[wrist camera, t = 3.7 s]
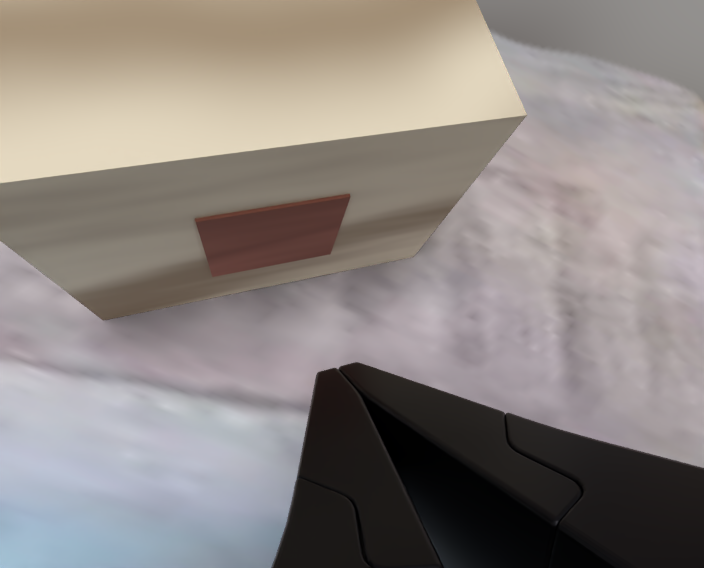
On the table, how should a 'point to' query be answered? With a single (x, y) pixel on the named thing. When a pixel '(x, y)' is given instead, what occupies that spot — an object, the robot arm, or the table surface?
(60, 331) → the table surface
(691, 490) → the robot arm
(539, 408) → the table surface
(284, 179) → the birch block
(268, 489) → the table surface
